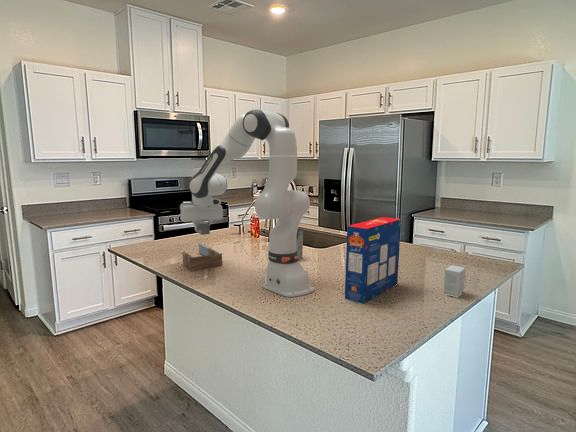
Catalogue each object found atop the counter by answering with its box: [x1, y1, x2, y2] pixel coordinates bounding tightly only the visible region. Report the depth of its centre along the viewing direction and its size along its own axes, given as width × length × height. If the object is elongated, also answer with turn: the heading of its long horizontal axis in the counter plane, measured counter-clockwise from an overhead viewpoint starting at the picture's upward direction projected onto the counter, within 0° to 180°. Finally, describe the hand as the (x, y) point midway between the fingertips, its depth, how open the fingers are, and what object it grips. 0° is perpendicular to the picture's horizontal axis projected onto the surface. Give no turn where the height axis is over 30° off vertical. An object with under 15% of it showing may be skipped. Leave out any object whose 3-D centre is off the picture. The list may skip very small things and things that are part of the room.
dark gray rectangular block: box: [194, 220, 211, 236], centre depth 183 cm, size 9×4×5 cm, turn 32°
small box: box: [442, 264, 466, 297], centre depth 149 cm, size 8×6×10 cm
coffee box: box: [296, 227, 304, 261], centre depth 197 cm, size 9×6×16 cm
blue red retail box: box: [344, 216, 402, 305], centre depth 150 cm, size 28×8×28 cm, turn 139°
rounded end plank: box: [198, 242, 211, 256], centre depth 201 cm, size 1×15×6 cm, turn 33°
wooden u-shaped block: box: [182, 247, 223, 272], centre depth 185 cm, size 13×16×6 cm
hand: (202, 229), depth 183 cm, fingers closed on dark gray rectangular block, 4 cm apart
